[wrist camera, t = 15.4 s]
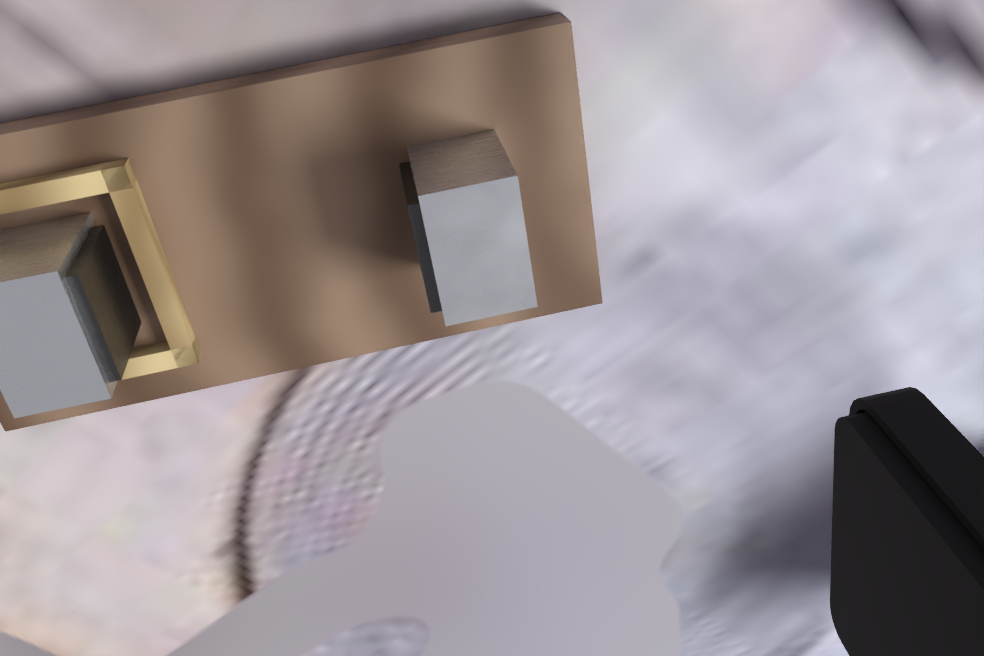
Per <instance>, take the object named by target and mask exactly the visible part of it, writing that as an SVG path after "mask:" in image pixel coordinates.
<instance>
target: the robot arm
mask: <svg viewBox="0 0 984 656" xmlns="http://www.w3.org/2000/svg"><path fill="white" fill-rule="evenodd" d="M830 609H831V615H832V619H833V622H834V626H835V629H836V631H837V634H838V636H839V638H840V640H841V642H842V644H843V645H844V647H845V649H846V651H847V652H848V654H849V656H984V457H983V456H982V455H981V453H980V452H979V451H978V450H977V449H976V448H975V447H974V446H973V445H972V444H971V443H970V442H969V441H968V440H967V439H966V438H965V437H964V436H963V435H962V434H961V433H960V432H959V431H958V430H957V428H956V427H955V426H954V425H953V424H952V423H951V422H950V421H949V420H948V419H947V418H946V417H945V416H944V415H943V414H942V413H941V412H940V411H939V410H938V409H937V408H936V407H935V406H934V405H933V404H932V402H931V401H930V400H929V399H928V398H927V397H926V396H925V395H924V394H923V393H921V392H920V391H919V390H917V389H916V388H911V387H908V388H904V389H899V390H895V391H890V392H886V393H881V394H876V395H872V396H867V397H863V398H858V399H856V400H854V401H853V403H852V405H851V407H850V413H849V416H845V417H841V418H839V419H838V420H837V422H836V425H835V441H834V478H833V514H832V550H831V586H830Z"/></svg>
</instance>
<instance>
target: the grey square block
mask: <svg viewBox="0 0 984 656" xmlns="http://www.w3.org/2000/svg"><path fill="white" fill-rule="evenodd" d="M407 150H408V155H409V160H410V161H409V162H404V163H400V164H399V167H400V172H401V177H402V182H403V187H404V192H405V197H406V202H407V207H408V212H409V216H410V221H411V226H412V230H413V235H414V239H415V244H416V248H417V253H418V257H419V262H420V267H421V271H422V276H423V280H424V285H425V289H426V294H427V298H428V303H429V308H430V312H431V313H434V312H439V311H442V312H443V317H444V321H445V326H450V325H455V324H459V323H464V322H469V321H473V320H478V319H483V318H487V317H492V316H497V315H501V314H506V313H511V312H515V311H520V310H525V309H529V308H534V307H538V306H537V299H536V293H535V286H534V279H533V273H532V266H531V260H530V253H529V247H528V240H527V234H526V227H525V220H524V214H523V207H522V201H521V194H520V188H519V181H518V175H517V173H516V171H515V169H514V167H513V165H512V163H511V161H510V159H509V157H508V155H507V153H506V151H505V149H504V147H503V145H502V143H501V141H500V139H499V138H498V136H497V134H496V132H495V130H494V129H493V130H488V131H484V132H479V133H474V134H469V135H464V136H459V137H454V138H449V139H444V140H439V141H434V142H430V143H425V144H420V145H415V146H410V147H407Z"/></svg>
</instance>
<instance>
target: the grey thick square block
mask: <svg viewBox="0 0 984 656" xmlns="http://www.w3.org/2000/svg"><path fill="white" fill-rule="evenodd" d="M141 323H142V322H141V319H140V317H139V314H138V312H137V309H136V306H135V304H134V301H133V299H132V296H131V293H130V291H129V288H128V286H127V283H126V281H125V278H124V275H123V273H122V270H121V268H120V265H119V262H118V260H117V257H116V255H115V252H114V249H113V247H112V244H111V242H110V239H109V236H108V234H107V231H106V229H105V226H104V225H99V226H96V224H95V221H94V219H93V216H92V214H91V212H88V213H83V214H78V215H73V216H67V217H62V218H57V219H52V220H46V221H41V222H36V223H31V224H26V225H20V226H15V227H10V228H5V229H0V391H1V393H2V395H3V397H4V399H5V401H6V403H7V405H8V407H9V409H10V411H11V413H12V415H13V417H14V418H18V417H23V416H28V415H33V414H38V413H43V412H48V411H53V410H58V409H63V408H68V407H72V406H77V405H82V404H87V403H92V402H97V401H102V400H107V399H111V398H112V395H113V392H114V390H115V387H116V384H117V381H118V380H122V377H123V374H124V371H125V368H126V366H127V363H128V360H129V357H130V354H131V351H132V349H133V346H134V343H135V340H136V337H137V334H138V331H139V329H140V326H141Z"/></svg>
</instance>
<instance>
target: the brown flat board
mask: <svg viewBox="0 0 984 656" xmlns="http://www.w3.org/2000/svg"><path fill="white" fill-rule="evenodd" d="M493 129H494V130H495V132H496V134H497V136H498V138H499V139H500V141H501V143H502V145H503V147H504V149H505V151H506V153H507V155H508V157H509V159H510V161H511V163H512V165H513V167H514V169H515V171H516V173H517V175H518V181H519V188H520V194H521V201H522V207H523V214H524V220H525V227H526V234H527V240H528V247H529V253H530V260H531V266H532V273H533V279H534V286H535V293H536V299H537V306H538V307H534V308H529V309H525V310H520V311H515V312H511V313H506V314H501V315H497V316H492V317H487V318H483V319H478V320H473V321H469V322H464V323H459V324H455V325H450V326H445V321H444V317H443V312H442V311H439V312H434V313H431V312H430V308H429V303H428V298H427V294H426V289H425V285H424V280H423V276H422V271H421V267H420V262H419V257H418V253H417V248H416V244H415V239H414V235H413V230H412V226H411V221H410V216H409V212H408V207H407V202H406V197H405V192H404V187H403V182H402V177H401V172H400V167H399V164H400V163H404V162H409V161H410V160H409V155H408V150H407V147H410V146H415V145H420V144H425V143H430V142H434V141H439V140H444V139H449V138H454V137H459V136H464V135H469V134H474V133H479V132H484V131H488V130H493ZM88 212H91V214H92V216H93V219H94V221H95V224H96V226H99V225H104V226H105V229H106V231H107V234H108V236H109V239H110V242H111V244H112V247H113V249H114V252H115V255H116V257H117V260H118V262H119V265H120V268H121V270H122V273H123V275H124V278H125V281H126V283H127V286H128V288H129V291H130V293H131V296H132V299H133V301H134V304H135V306H136V309H137V312H138V314H139V317H140V319H141V322H142V323H141V326H140V329H139V331H138V334H137V337H136V340H135V343H134V346H133V349H132V351H131V354H130V357H129V360H128V363H127V366H126V368H125V371H124V374H123V377H122V380H118V381H117V384H116V387H115V390H114V392H113V395H112V398H111V399H107V400H102V401H97V402H92V403H87V404H82V405H77V406H72V407H68V408H63V409H58V410H53V411H48V412H43V413H38V414H33V415H28V416H23V417H18V418H14V417H13V415H12V413H11V411H10V409H9V407H8V405H7V403H6V401H5V399H4V397H3V395H2V393H1V391H0V423H1V424H2V426H3V428H4V430H5V431H10V430H14V429H19V428H24V427H28V426H33V425H38V424H42V423H47V422H52V421H56V420H61V419H66V418H70V417H75V416H79V415H84V414H89V413H93V412H98V411H103V410H107V409H112V408H117V407H121V406H126V405H131V404H135V403H140V402H145V401H149V400H154V399H159V398H163V397H168V396H172V395H177V394H182V393H186V392H191V391H196V390H200V389H205V388H210V387H214V386H219V385H224V384H228V383H233V382H238V381H242V380H247V379H252V378H256V377H261V376H265V375H270V374H275V373H279V372H284V371H289V370H293V369H298V368H303V367H307V366H312V365H317V364H321V363H326V362H331V361H335V360H340V359H344V358H349V357H354V356H358V355H363V354H368V353H372V352H377V351H382V350H386V349H391V348H396V347H400V346H405V345H410V344H414V343H419V342H424V341H428V340H433V339H437V338H442V337H447V336H451V335H456V334H461V333H465V332H470V331H475V330H479V329H484V328H489V327H493V326H498V325H503V324H507V323H512V322H517V321H521V320H526V319H530V318H535V317H540V316H544V315H549V314H554V313H558V312H563V311H568V310H572V309H577V308H582V307H586V306H591V305H596V304H600V303H602V295H601V286H600V277H599V268H598V259H597V250H596V241H595V232H594V223H593V214H592V205H591V196H590V187H589V179H588V170H587V161H586V152H585V143H584V134H583V125H582V116H581V107H580V98H579V89H578V80H577V71H576V62H575V53H574V44H573V35H572V26H571V21H570V20H569V19H567V18H566V17H565V16H564V15H563V14H562V13H556V14H551V15H546V16H541V17H536V18H531V19H526V20H521V21H516V22H511V23H506V24H501V25H495V26H490V27H485V28H480V29H475V30H470V31H465V32H460V33H455V34H450V35H445V36H440V37H435V38H430V39H425V40H420V41H415V42H410V43H405V44H399V45H394V46H389V47H384V48H379V49H374V50H369V51H364V52H359V53H354V54H349V55H344V56H339V57H334V58H329V59H324V60H319V61H314V62H309V63H303V64H298V65H293V66H288V67H283V68H278V69H273V70H268V71H263V72H258V73H253V74H248V75H243V76H238V77H233V78H228V79H223V80H218V81H213V82H207V83H202V84H197V85H192V86H187V87H182V88H177V89H172V90H167V91H162V92H157V93H152V94H147V95H142V96H137V97H132V98H127V99H122V100H117V101H111V102H106V103H101V104H96V105H91V106H86V107H81V108H76V109H71V110H66V111H61V112H56V113H51V114H46V115H41V116H36V117H31V118H26V119H21V120H15V121H10V122H5V123H0V229H5V228H10V227H15V226H20V225H26V224H31V223H36V222H41V221H46V220H52V219H57V218H62V217H67V216H73V215H78V214H83V213H88Z"/></svg>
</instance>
